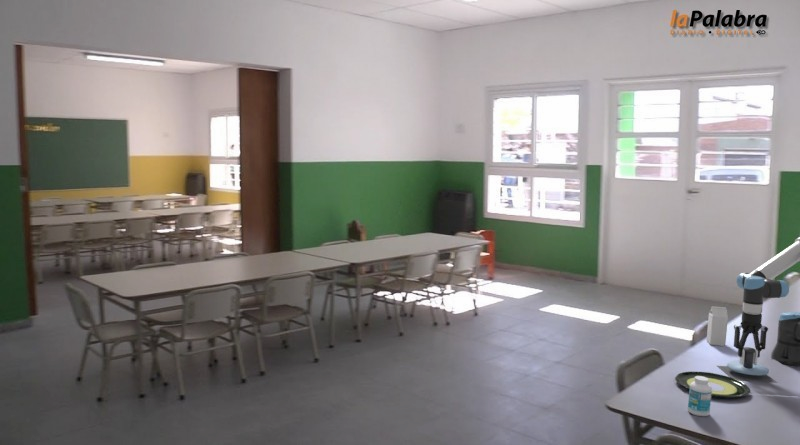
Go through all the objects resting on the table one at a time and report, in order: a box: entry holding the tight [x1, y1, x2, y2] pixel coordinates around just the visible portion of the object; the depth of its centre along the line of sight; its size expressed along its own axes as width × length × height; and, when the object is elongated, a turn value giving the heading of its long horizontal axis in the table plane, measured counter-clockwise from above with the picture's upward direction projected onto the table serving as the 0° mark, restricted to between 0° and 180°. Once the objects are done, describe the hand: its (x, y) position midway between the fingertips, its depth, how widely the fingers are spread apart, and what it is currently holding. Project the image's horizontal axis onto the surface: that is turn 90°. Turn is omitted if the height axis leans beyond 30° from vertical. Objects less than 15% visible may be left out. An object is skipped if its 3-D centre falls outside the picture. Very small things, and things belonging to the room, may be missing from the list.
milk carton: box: [706, 306, 729, 347], centre depth 324 cm, size 7×7×19 cm
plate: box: [674, 371, 751, 399], centre depth 264 cm, size 28×28×2 cm
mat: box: [716, 365, 778, 384], centre depth 280 cm, size 18×18×1 cm
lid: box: [726, 346, 770, 376], centre depth 279 cm, size 16×16×9 cm
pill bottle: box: [687, 376, 713, 417], centre depth 237 cm, size 8×7×14 cm
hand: (748, 364), depth 280 cm, fingers closed on lid, 5 cm apart
